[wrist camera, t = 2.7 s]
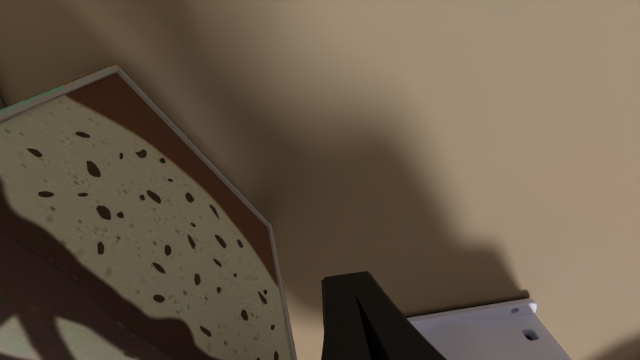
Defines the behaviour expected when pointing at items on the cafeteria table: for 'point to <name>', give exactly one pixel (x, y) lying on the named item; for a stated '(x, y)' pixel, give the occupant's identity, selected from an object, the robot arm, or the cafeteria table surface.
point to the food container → (127, 237)
